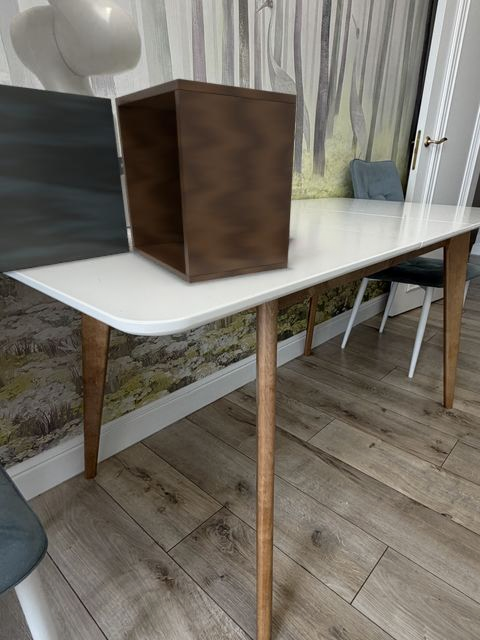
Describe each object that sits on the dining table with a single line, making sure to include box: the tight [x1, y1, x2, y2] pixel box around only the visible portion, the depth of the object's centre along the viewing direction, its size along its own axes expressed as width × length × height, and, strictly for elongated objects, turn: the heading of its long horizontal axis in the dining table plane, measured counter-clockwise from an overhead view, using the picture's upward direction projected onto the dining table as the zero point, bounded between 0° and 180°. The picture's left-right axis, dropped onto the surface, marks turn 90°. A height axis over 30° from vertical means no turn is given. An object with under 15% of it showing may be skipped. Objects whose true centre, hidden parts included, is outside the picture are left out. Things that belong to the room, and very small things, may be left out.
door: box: [0, 83, 131, 273], centre depth 55 cm, size 7×22×22 cm, turn 139°
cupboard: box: [114, 78, 298, 284], centre depth 58 cm, size 16×22×22 cm
